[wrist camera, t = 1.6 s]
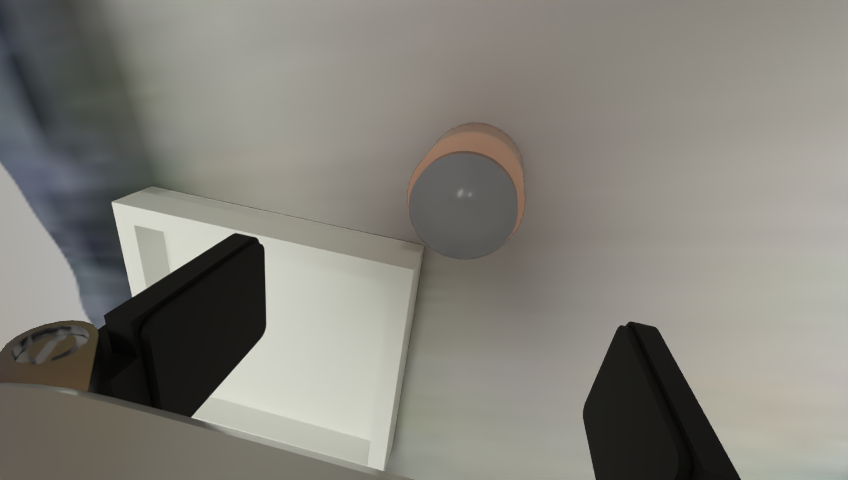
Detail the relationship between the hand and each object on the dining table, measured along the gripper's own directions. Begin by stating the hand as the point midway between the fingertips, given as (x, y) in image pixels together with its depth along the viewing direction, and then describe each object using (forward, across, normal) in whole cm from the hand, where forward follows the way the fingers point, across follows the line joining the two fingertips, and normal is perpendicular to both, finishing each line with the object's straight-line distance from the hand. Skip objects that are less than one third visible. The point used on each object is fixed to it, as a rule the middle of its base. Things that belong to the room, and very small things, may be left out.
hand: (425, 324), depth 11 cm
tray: (+13, +11, +13) cm, 21 cm away
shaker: (+13, 0, -1) cm, 13 cm away
